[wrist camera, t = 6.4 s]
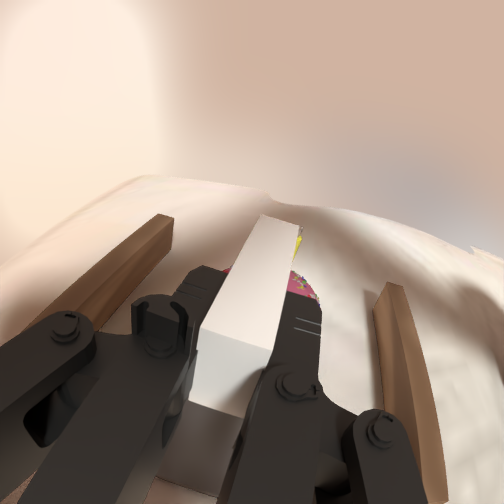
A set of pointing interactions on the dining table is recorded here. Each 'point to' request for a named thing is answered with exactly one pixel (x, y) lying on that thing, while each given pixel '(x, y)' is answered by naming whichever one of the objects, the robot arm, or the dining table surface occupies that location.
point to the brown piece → (228, 426)
